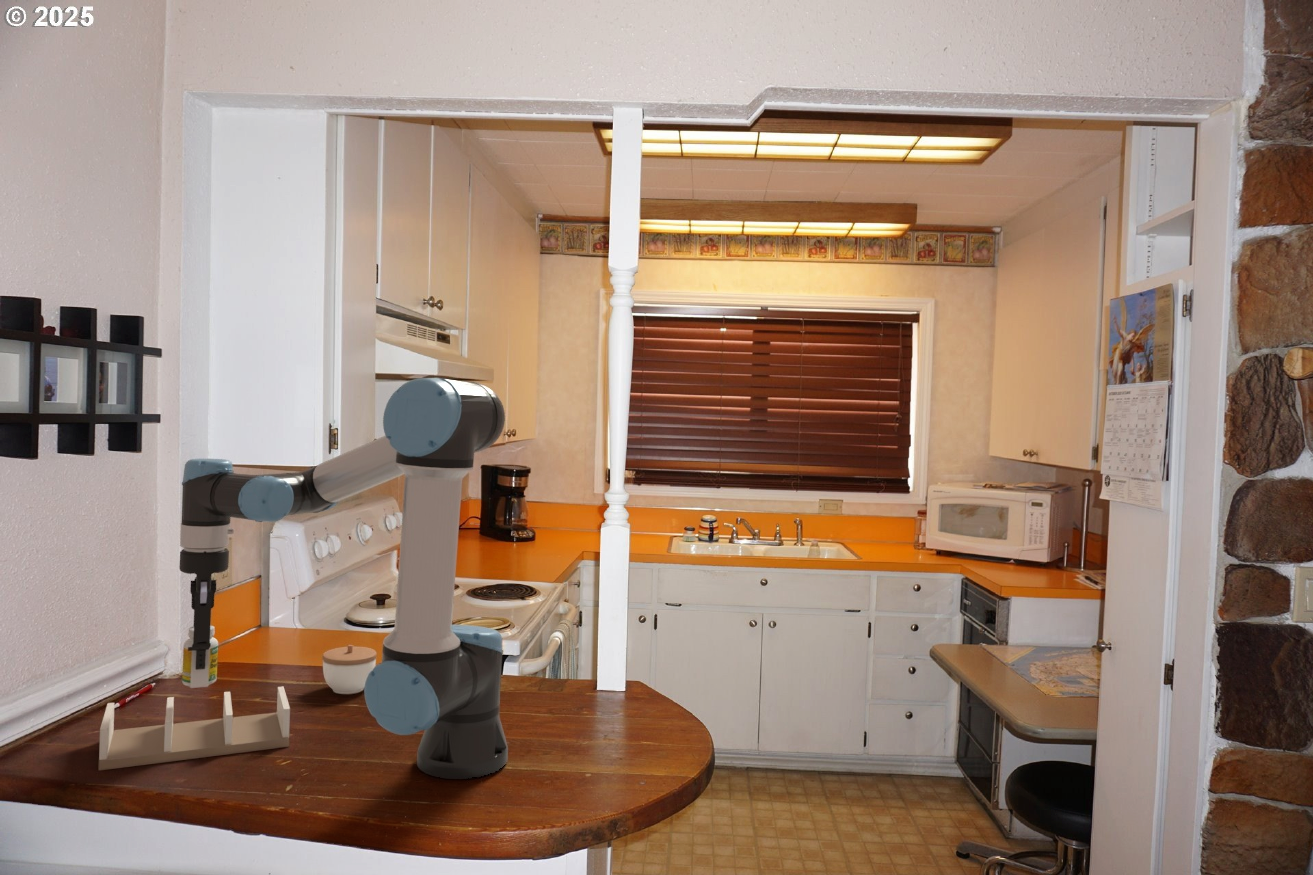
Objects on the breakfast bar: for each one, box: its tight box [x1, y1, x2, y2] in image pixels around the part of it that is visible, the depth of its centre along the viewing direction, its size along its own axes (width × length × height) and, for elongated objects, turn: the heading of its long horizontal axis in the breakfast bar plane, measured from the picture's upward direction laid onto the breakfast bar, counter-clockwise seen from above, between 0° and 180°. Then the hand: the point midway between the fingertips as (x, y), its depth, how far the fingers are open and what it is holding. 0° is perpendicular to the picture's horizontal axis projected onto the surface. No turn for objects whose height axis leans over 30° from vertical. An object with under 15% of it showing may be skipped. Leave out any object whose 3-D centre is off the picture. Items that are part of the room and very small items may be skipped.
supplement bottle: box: [181, 624, 219, 687], centre depth 150 cm, size 5×5×10 cm
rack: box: [98, 686, 291, 771], centre depth 150 cm, size 14×28×6 cm, turn 118°
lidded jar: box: [322, 644, 378, 695], centre depth 182 cm, size 11×11×9 cm
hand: (199, 680), depth 150 cm, fingers closed on supplement bottle, 5 cm apart
